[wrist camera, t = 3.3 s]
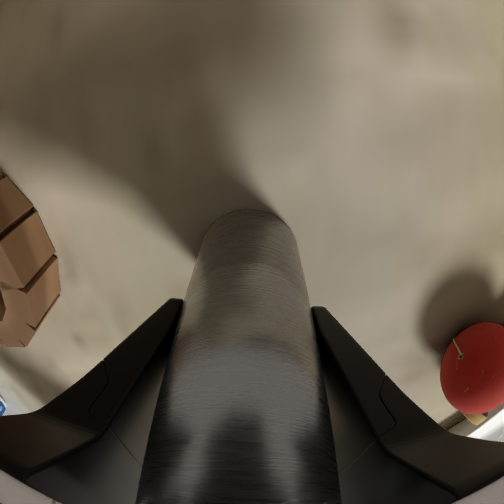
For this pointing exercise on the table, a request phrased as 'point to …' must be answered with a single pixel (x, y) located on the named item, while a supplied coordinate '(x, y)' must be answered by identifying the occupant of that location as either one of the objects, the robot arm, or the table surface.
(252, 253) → the grey metal cylinder
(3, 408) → the beverage bottle
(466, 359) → the kendama
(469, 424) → the salad plate
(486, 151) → the table surface
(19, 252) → the bead ring
